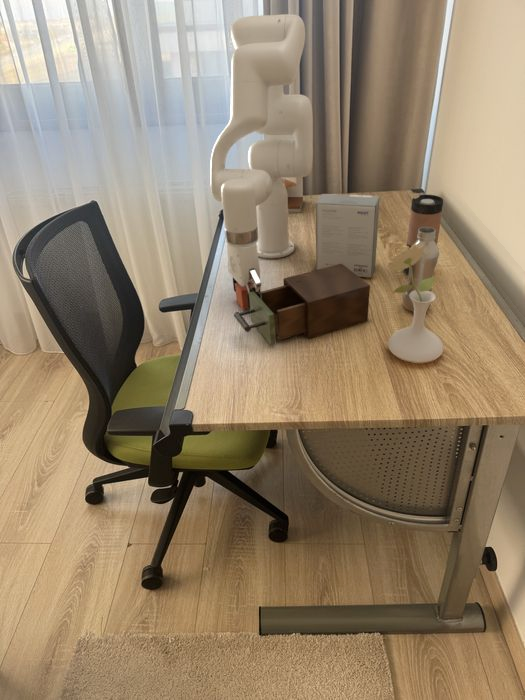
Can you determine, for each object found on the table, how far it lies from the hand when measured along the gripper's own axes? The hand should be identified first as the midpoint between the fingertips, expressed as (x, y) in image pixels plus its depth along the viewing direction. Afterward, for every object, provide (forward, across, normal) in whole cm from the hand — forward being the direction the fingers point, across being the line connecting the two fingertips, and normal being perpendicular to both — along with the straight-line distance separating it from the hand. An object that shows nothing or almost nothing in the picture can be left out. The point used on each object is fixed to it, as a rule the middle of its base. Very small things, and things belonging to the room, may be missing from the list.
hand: (247, 298), depth 129 cm
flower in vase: (+2, +36, +23) cm, 43 cm away
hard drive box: (+2, -4, +31) cm, 31 cm away
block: (+2, 0, 0) cm, 2 cm away
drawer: (+1, +15, +2) cm, 15 cm away
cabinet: (+2, +15, +14) cm, 21 cm away
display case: (+1, -57, +38) cm, 69 cm away
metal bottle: (+2, +22, +35) cm, 41 cm away
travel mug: (+2, +7, +47) cm, 48 cm away
